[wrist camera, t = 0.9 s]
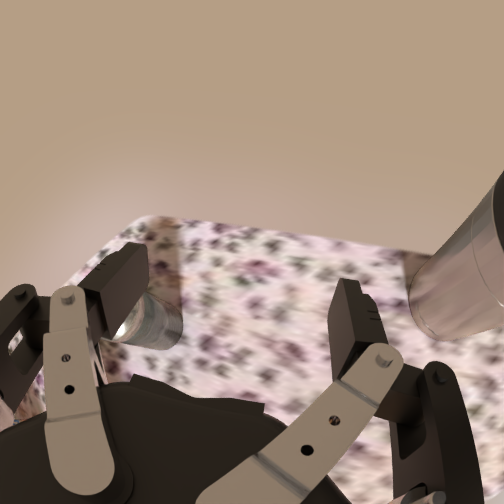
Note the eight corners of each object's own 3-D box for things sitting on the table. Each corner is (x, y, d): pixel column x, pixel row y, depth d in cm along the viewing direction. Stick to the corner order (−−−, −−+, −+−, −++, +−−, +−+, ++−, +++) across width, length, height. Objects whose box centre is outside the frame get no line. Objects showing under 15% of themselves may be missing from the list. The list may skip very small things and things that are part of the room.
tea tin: (171, 293, 33) (123, 263, 24) (192, 336, 31) (145, 321, 21) (133, 316, 33) (79, 295, 24) (151, 359, 30) (96, 351, 21)
